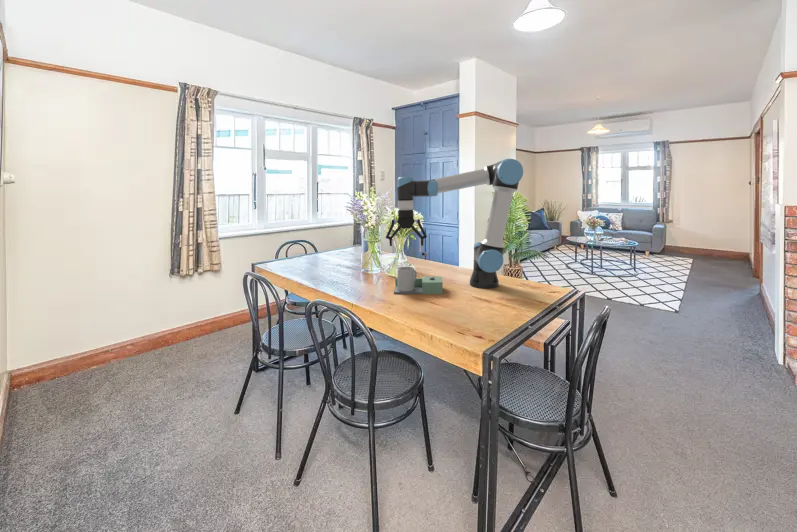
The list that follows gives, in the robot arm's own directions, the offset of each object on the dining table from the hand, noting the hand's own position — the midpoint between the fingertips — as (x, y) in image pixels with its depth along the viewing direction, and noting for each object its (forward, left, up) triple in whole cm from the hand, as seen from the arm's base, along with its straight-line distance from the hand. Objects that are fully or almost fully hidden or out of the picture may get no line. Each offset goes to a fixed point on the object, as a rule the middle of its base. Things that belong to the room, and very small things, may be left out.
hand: (406, 252), depth 195 cm
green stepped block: (-7, -1, -20) cm, 21 cm away
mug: (-1, 0, -19) cm, 19 cm away
